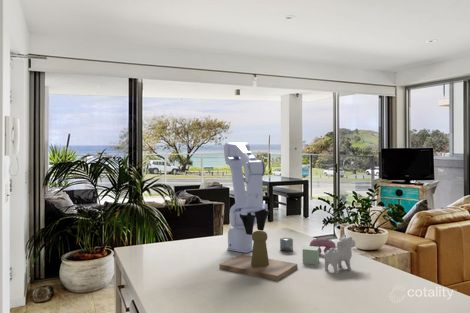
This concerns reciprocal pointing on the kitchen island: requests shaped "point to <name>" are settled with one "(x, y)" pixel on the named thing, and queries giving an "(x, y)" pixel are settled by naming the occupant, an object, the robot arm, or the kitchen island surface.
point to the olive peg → (259, 249)
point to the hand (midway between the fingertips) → (255, 232)
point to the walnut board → (271, 271)
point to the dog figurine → (340, 253)
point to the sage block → (310, 255)
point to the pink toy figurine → (323, 244)
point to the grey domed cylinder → (286, 244)
